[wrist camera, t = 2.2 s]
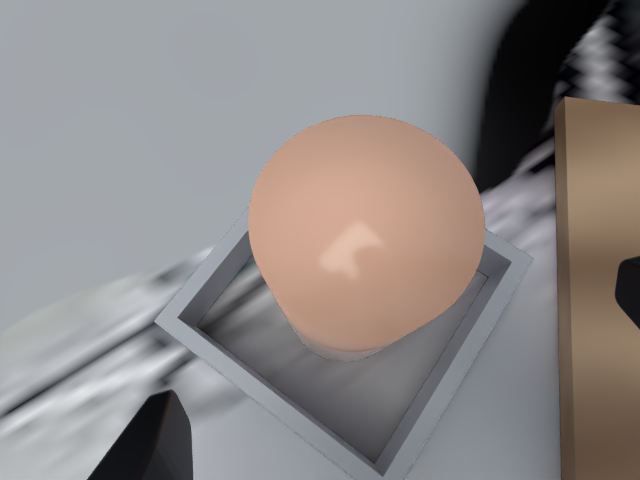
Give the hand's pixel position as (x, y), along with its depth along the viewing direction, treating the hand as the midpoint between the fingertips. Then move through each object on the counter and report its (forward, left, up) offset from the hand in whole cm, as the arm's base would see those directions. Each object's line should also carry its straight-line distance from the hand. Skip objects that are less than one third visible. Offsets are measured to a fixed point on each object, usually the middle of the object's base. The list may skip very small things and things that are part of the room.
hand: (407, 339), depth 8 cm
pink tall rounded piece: (+2, +1, -10) cm, 10 cm away
